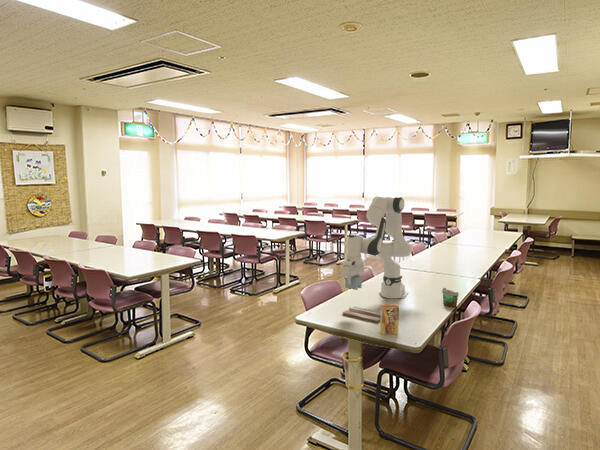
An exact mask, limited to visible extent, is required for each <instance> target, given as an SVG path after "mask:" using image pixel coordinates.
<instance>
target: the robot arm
mask: <svg viewBox="0 0 600 450" xmlns="http://www.w3.org/2000/svg"><path fill="white" fill-rule="evenodd" d="M404 208H405V200H404V198H403V197H401V196H399V195H397V196H396V195H378V196H377V195H376V196H375V197H373V199H372V201H371V203H370V205H369V206H368V209H367V211H366V219H367V221H368V222H369V223H370V224H371V225H372V226H374V227H376V231H375V234H374V237H372V238H367V237H363V236H361V234H360V233H358V232H354V233H350V234H348V235H347V237H346V238H347V240H346V257H345V258H344V259H343V260H342V261H341V265H342V268H341V276H342V278H343V279H345V278H347V279H348V284H352V281H351V278H352V277H353V276H361V274H364V272H365V263H364V260H363V258H362V254H364V255H370V256H373V257H374V256H375V257H376V256H378V257H379V258H380V260H381V262H382V263H383V265H382V266H383V276H382V282H381V286H380V291H379V292H378V294H379V295H381V297H383V298H387V299H405V298H406V297H407V296H408V294H409V291H408V290H406V285H405V284H404V283H403V282H402V279H403V275H401V265H400V263H398V262H397V261H395V260H394V259H392V258H407V257H410V256H411V254H412V252H413V247H412V245H411V243H409V241H408V240H407V239H406V238H405V237H404V234H403V229H402V227H403V226H402V223H403V222H402V221H403V219H402V218H403V217H402V211H403V210H404ZM385 234H386V235H388V236H389V237H391V238H393V240H384V236H385Z"/></svg>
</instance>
